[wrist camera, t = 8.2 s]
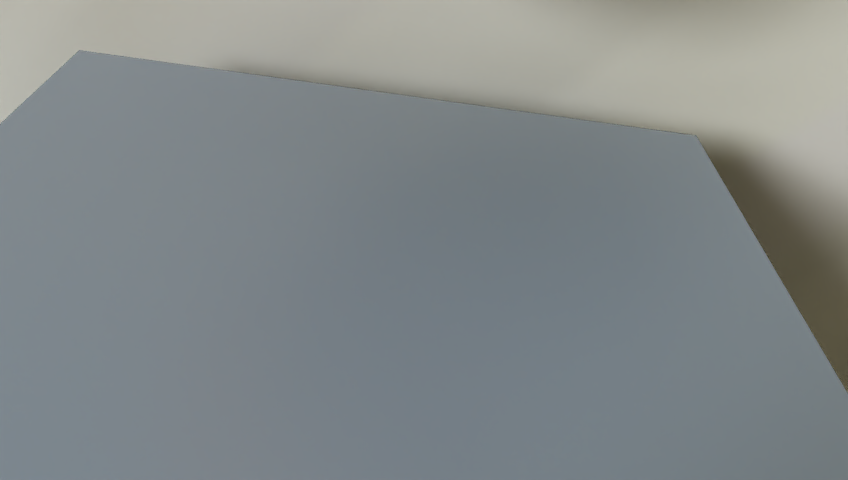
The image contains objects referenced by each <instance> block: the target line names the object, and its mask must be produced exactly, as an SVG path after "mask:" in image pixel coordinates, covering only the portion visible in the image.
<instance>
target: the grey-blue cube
mask: <svg viewBox="0 0 848 480" xmlns="http://www.w3.org/2000/svg"><path fill="white" fill-rule="evenodd" d="M0 480H848V393H847V391H846V390H845V388H844V386H843V385H842V383H841V381H840V379H839V378H838V376H837V374H836V373H835V371H834V369H833V367H832V366H831V364H830V362H829V361H828V359H827V357H826V356H825V354H824V352H823V350H822V349H821V347H820V345H819V344H818V342H817V340H816V339H815V337H814V335H813V333H812V332H811V330H810V328H809V327H808V325H807V323H806V322H805V320H804V318H803V316H802V315H801V313H800V311H799V310H798V308H797V306H796V305H795V303H794V301H793V299H792V298H791V296H790V294H789V293H788V291H787V289H786V288H785V286H784V284H783V282H782V281H781V279H780V277H779V276H778V274H777V272H776V271H775V269H774V267H773V265H772V264H771V262H770V260H769V259H768V257H767V255H766V254H765V252H764V250H763V248H762V247H761V245H760V243H759V242H758V240H757V238H756V237H755V235H754V233H753V231H752V230H751V228H750V226H749V225H748V223H747V221H746V220H745V218H744V216H743V214H742V213H741V211H740V209H739V208H738V206H737V204H736V203H735V201H734V199H733V197H732V196H731V194H730V192H729V191H728V189H727V187H726V186H725V184H724V182H723V180H722V179H721V177H720V175H719V174H718V172H717V170H716V169H715V167H714V165H713V163H712V162H711V160H710V158H709V157H708V155H707V153H706V152H705V150H704V148H703V146H702V145H701V143H700V141H699V140H698V138H697V136H695V135H688V134H681V133H674V132H667V131H659V130H652V129H645V128H638V127H630V126H623V125H616V124H609V123H601V122H594V121H587V120H580V119H573V118H565V117H558V116H551V115H544V114H536V113H529V112H522V111H515V110H507V109H500V108H493V107H486V106H478V105H471V104H464V103H457V102H450V101H442V100H435V99H428V98H421V97H413V96H406V95H399V94H392V93H384V92H377V91H370V90H363V89H355V88H348V87H341V86H334V85H327V84H319V83H312V82H305V81H298V80H290V79H283V78H276V77H269V76H261V75H254V74H247V73H240V72H233V71H225V70H218V69H211V68H204V67H196V66H189V65H182V64H175V63H167V62H160V61H153V60H146V59H138V58H131V57H124V56H117V55H110V54H102V53H95V52H88V51H81V50H79V51H78V52H77V53H76V54H75V55H74V56H73V57H72V58H70V59H69V60H68V61H67V62H66V63H65V64H64V65H63V66H62V67H61V68H60V69H59V70H58V71H56V72H55V73H54V74H53V75H52V76H51V77H50V78H49V79H48V80H47V81H46V82H45V83H44V84H43V85H41V86H40V87H39V88H38V89H37V90H36V91H35V92H34V93H33V94H32V95H31V96H30V97H29V98H27V99H26V100H25V101H24V102H23V103H22V104H21V105H20V106H19V107H18V108H17V109H16V110H15V111H13V112H12V113H11V114H10V115H9V116H8V117H7V118H6V119H5V120H4V121H3V122H2V123H1V124H0Z"/></svg>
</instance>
